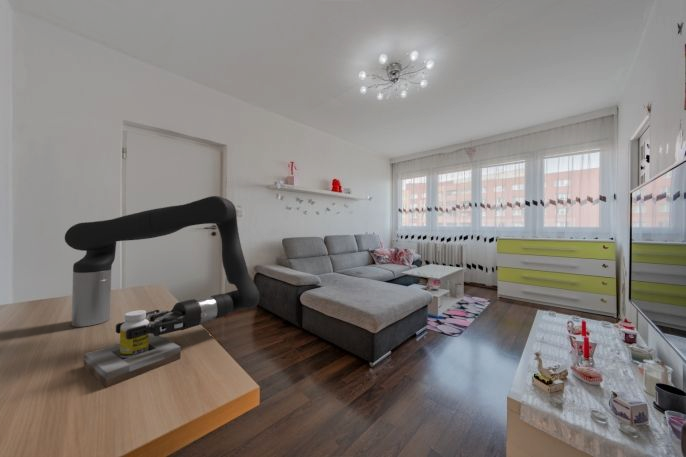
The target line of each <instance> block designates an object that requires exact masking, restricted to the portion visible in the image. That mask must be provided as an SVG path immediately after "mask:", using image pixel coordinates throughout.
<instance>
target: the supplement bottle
mask: <svg viewBox="0 0 686 457" xmlns="http://www.w3.org/2000/svg"><path fill="white" fill-rule="evenodd" d="M146 313H147V310H144V309H141V310H131V311H127V312H125V314H124V322H125V323H123V324H122V325H121V329H120V333H119V334H120V335H119V340H120V341H119V344H120V357H121V358H129V357H132V356H135V355H138V354H141V353H144V352H147V351H148V349H149V335H147V334H146V335H143V336H140V337H137V338H133V339H130V340H128V339H126V331H127V330H128V329H131V328H135V327H139V326H142V325H147V324H149V321H148V320H147V319H145V318H146Z"/></svg>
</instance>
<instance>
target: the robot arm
mask: <svg viewBox="0 0 686 457" xmlns="http://www.w3.org/2000/svg"><path fill="white" fill-rule="evenodd" d="M207 224H208V225H209V224H211V225H212V224H214V225H216V228H217V229H218V231H219V234H220V239H221V241H220V242H221V260H222V261H221V262H222V265H223V270H224V274H225V277H226V281H227V282H228V283H229V285H233V286H235V288H236V289H235V290H232V291H229V292H226V293H218V294H214V295H209V296H201V297H197V298H192V299H188V300H187V299H186V300H184V301H178V302H176V303H175V304H174V305H173V307H172V309H171V310H161V311H160V309H156V310H151V311H149V312H146V318H145V319H147V320H148V321H149V324H147V325H142V326H139V327H135V328H131V329H128V330H127V331H126V339H128V340H130V339H133V338H137V337H140V336H143V335H146V334H147V335H152V334H154V336H163V335H166V334H170V333H174V332H179V331H184V330H187V329H191V328H194V327H197V326H200V325H203V324H206V323H208V322H210V321H213V320H216V319H219V318H223V317H226V316H228V315H229V314H231V313H234V312H239V311H244V310H252V309H254V308H256V307H257V305H258V304H259V303H260V292H259V289H258V288H257V284H255V282H254V280H253V279H252V277H251V276H250V274H249V270H248V267H247V263H246V260H245V256H244V255H245V254H244V253H243V249H242V244H241V239H240V233H239V228H238V216H237V208H236V205H235V204H234V203H233V202H232V201H230V200H229V199H227V198H225V197H222V196H217V195H212V196H207V197H204V198H201V199H197V200H194V201H192V202H188V203H185V204H178V205H172V206H171V205H170V206H166V207H165V206H164V207H160V208H159V207H158V208H153V209H148V210H143V211H139V212H136V213H131V214H127V215H122V216H119V217H116V218H115V217H114V218H112V219H103V220H98V221H89V222H79V223H76V224H73V225H72V226H70V227H69V228H68V230H66V232H65V234H64V241H65V244H67V246H69V247H70V248H72V249H74V250H76V251H81V252H83V251H84V252H86V253H85V255H84V256H83V257H82V258H81V259H79V260H78V261H76V262H74V263H73V266H72V294H71V296H72V298H71V300H72V301H71V302H72V303H71V326H72V327H75V328H77V327H78V328H79V327H89V326H90V327H91V326H95V325H99V324H102V323H106V322H108V321H109V320H111V306H112V305H111V304H112V303H111V301H112V300H111V298H112V297H111V296H112V294H111V292H112V267H113V266H112V265H113V264H114V261H115V260H116V250H117V242H122V241H139V240H148V239H154V238H159V237H163V236H167V235H171V234H174V233H176V232H178V231H180V230H182V229H185V228H188V227H193V226H198V225H207ZM125 322H126V321H124V322H123V321H122V322H118V323H116V324H115V333H117V334H120V329H121V325H122V324H123V323H125Z"/></svg>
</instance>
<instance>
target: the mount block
mask: <svg viewBox="0 0 686 457" xmlns="http://www.w3.org/2000/svg"><path fill="white" fill-rule="evenodd" d="M181 350H182V349H181V346H180V345H178V344H177V343H174V342H173V341H172V340H171V341H170V340H168V339H166V338H164V337H163V336H162V335H159V336H154V334H152V335H149V349H148V351H147V352H144V353H141V354H138V355H135V356H132V357H129V358H121V357H120V343H116V344H114V345H110V346H107V347H102V348H100V349H96V350H93V351H90V352H85V353H84V359H83V367H84V368H85V369H86V371H88V372H89V373H90V374H91V375H92V376H93V377H94V378H95V379H96V380H97V381H99V382H100V383H101V384H102V385H103V386H104V387H105V388H109V387H111V386H112V387H113V386H115V385H117V384H120V383H122V382H125V381H127V380H130V379H132V378H134V377H137V376H140V375H142V374H146V373H148V372H149V371H152V370H155V369H158V368H161V367H163V366H165V365H167V364H170V363H173V362H175V361H179V360H180V359H181V355H182V354H181V353H182V352H181Z"/></svg>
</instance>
